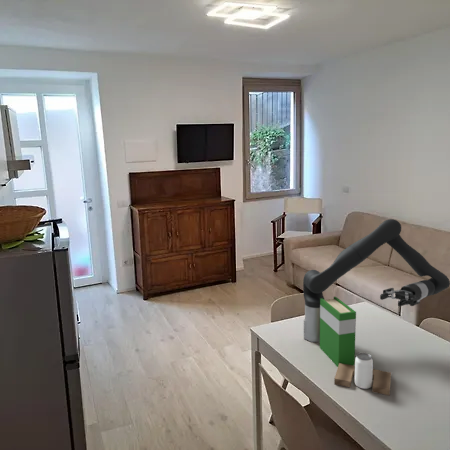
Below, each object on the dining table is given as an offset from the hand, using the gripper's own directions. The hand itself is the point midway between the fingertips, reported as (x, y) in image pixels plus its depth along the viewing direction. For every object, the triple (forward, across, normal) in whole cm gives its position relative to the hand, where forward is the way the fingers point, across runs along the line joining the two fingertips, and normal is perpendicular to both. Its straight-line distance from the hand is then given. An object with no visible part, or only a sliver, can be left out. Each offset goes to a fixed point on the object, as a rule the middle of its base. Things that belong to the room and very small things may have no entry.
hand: (389, 300), depth 167 cm
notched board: (+19, +4, +28) cm, 34 cm away
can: (+20, +5, +28) cm, 35 cm away
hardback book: (+13, -16, +28) cm, 35 cm away
